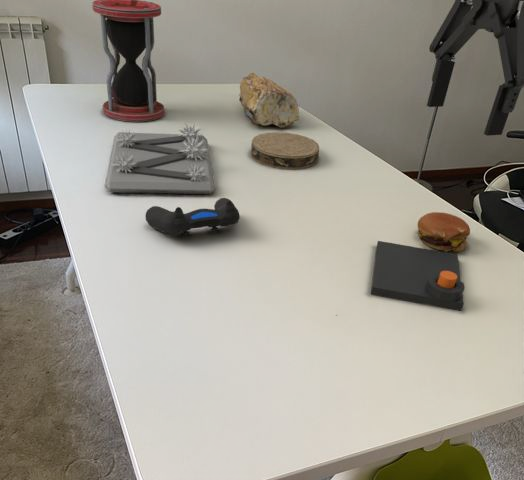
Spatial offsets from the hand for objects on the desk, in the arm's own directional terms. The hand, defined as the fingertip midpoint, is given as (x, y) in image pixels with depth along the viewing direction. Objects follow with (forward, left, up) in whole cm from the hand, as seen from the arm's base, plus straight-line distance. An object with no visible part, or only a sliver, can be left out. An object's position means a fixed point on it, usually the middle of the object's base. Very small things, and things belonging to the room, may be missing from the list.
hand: (462, 119), depth 84 cm
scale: (+1, +9, -23) cm, 25 cm away
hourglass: (+76, -52, -23) cm, 95 cm away
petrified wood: (+43, -64, -23) cm, 80 cm away
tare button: (-3, +14, -20) cm, 25 cm away
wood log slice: (+32, -37, -23) cm, 54 cm away
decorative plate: (+56, -19, -23) cm, 64 cm away
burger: (-3, -6, -23) cm, 24 cm away
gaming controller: (+40, +6, -23) cm, 47 cm away
